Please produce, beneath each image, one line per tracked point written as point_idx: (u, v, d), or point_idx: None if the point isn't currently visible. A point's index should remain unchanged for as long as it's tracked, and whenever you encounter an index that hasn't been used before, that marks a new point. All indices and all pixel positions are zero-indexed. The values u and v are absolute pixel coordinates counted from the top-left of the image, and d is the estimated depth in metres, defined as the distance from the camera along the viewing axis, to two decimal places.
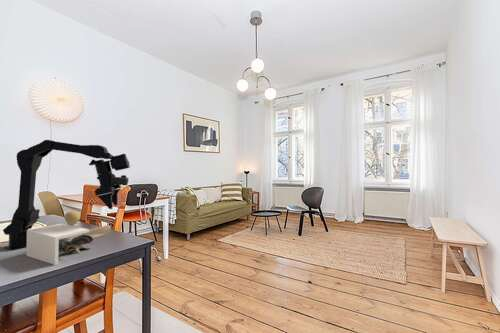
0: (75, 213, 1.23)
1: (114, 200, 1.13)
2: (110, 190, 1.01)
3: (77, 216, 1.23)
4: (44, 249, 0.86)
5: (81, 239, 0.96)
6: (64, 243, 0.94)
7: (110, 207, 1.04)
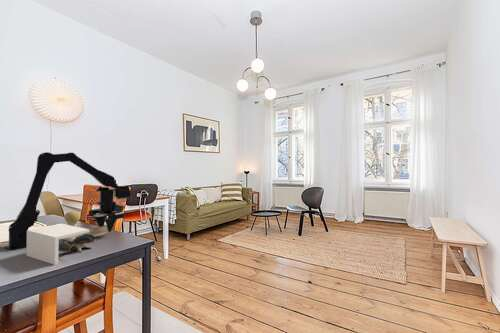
0: (75, 213, 1.23)
1: (102, 225, 1.22)
2: None
3: (77, 216, 1.23)
4: (44, 249, 0.86)
5: (83, 238, 0.97)
6: (67, 242, 0.95)
7: (110, 230, 1.20)
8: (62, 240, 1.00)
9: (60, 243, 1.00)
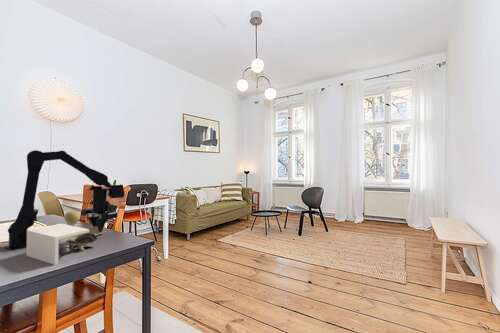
0: (75, 213, 1.23)
1: None
2: (117, 216, 1.16)
3: (77, 216, 1.23)
4: (44, 249, 0.86)
5: (85, 237, 0.98)
6: (69, 242, 0.96)
7: (101, 230, 1.17)
8: None
9: None
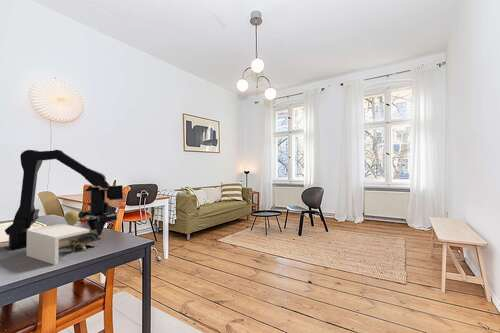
0: (75, 213, 1.23)
1: (94, 228, 1.12)
2: (116, 218, 1.10)
3: (77, 216, 1.23)
4: (44, 249, 0.86)
5: (87, 236, 0.99)
6: (71, 241, 0.97)
7: (100, 233, 1.11)
8: None
9: None
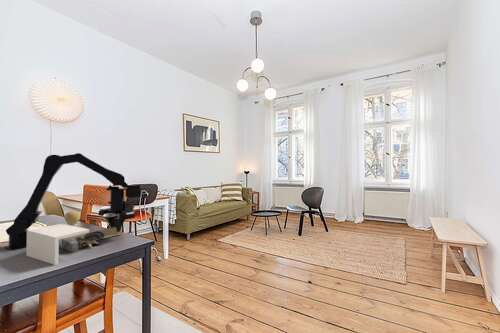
0: (75, 213, 1.23)
1: (114, 226, 1.18)
2: None
3: (77, 216, 1.23)
4: (44, 249, 0.86)
5: (93, 235, 1.02)
6: (78, 239, 0.99)
7: (119, 230, 1.17)
8: (65, 241, 0.98)
9: (63, 244, 0.99)
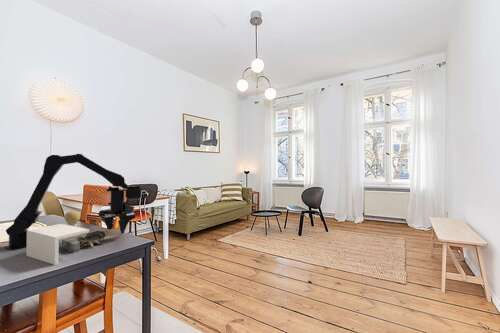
0: (75, 213, 1.23)
1: (110, 226, 1.19)
2: None
3: (77, 216, 1.23)
4: (44, 249, 0.86)
5: (94, 234, 1.02)
6: (79, 238, 1.00)
7: (123, 232, 1.16)
8: (65, 242, 0.98)
9: (64, 245, 0.99)
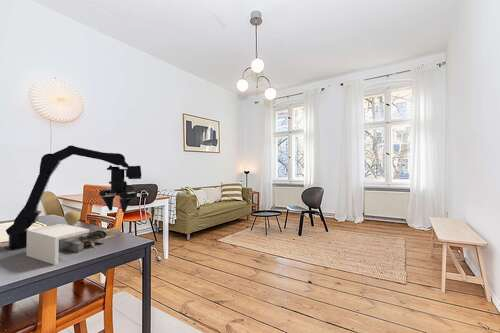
0: (75, 213, 1.23)
1: (110, 205, 1.20)
2: (135, 195, 1.17)
3: (77, 216, 1.23)
4: (44, 249, 0.86)
5: (95, 234, 1.03)
6: (80, 238, 1.01)
7: (124, 211, 1.16)
8: (68, 242, 0.98)
9: (66, 245, 0.98)
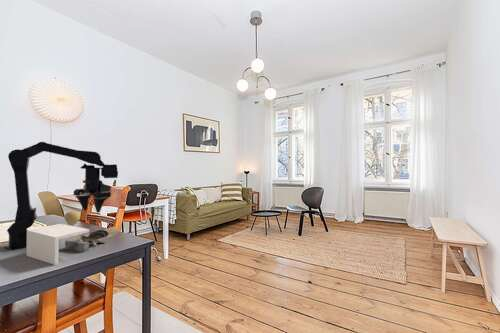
0: (75, 213, 1.23)
1: (85, 205, 1.16)
2: (110, 195, 1.13)
3: (77, 216, 1.23)
4: (44, 249, 0.86)
5: (97, 233, 1.04)
6: (82, 237, 1.02)
7: (98, 211, 1.13)
8: (71, 242, 0.97)
9: (69, 245, 0.98)
